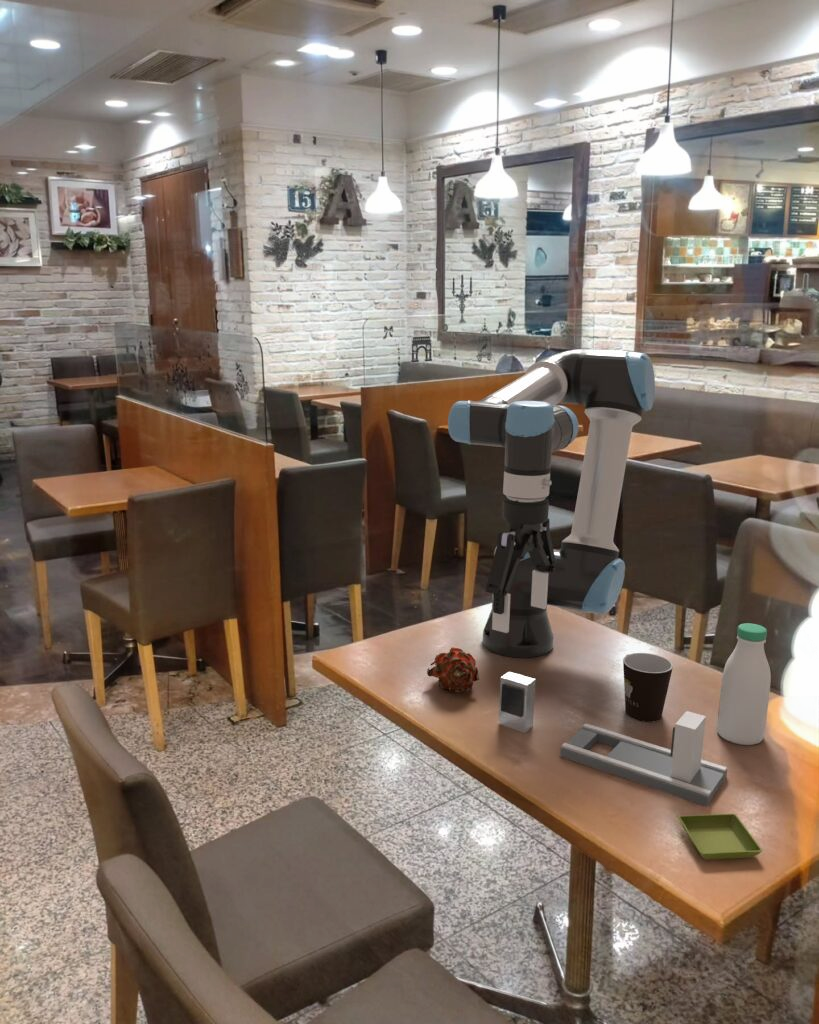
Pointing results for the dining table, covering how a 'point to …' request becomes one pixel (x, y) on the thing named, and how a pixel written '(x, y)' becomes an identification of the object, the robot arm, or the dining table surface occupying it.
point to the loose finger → (516, 701)
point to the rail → (654, 759)
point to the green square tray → (720, 836)
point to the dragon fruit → (455, 670)
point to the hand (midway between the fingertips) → (520, 618)
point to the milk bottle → (745, 688)
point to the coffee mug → (646, 685)
